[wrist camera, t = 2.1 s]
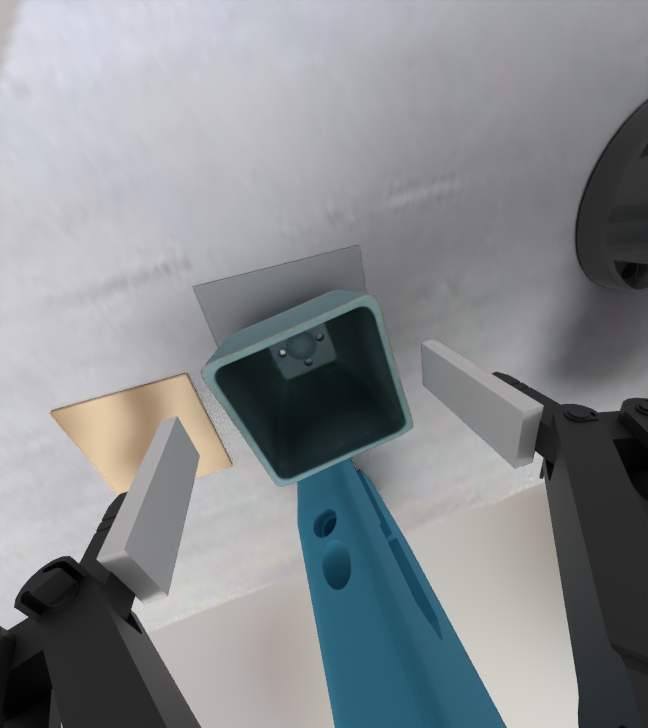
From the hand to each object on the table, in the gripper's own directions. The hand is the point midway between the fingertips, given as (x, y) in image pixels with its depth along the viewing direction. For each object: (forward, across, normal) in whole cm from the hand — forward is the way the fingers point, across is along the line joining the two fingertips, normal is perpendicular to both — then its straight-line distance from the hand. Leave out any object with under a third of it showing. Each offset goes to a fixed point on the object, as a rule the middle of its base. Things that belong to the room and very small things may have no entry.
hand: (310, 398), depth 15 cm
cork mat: (+9, +13, +5) cm, 17 cm away
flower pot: (+8, -1, 0) cm, 9 cm away
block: (+8, -1, +16) cm, 18 cm away
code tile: (+9, -1, 0) cm, 9 cm away
